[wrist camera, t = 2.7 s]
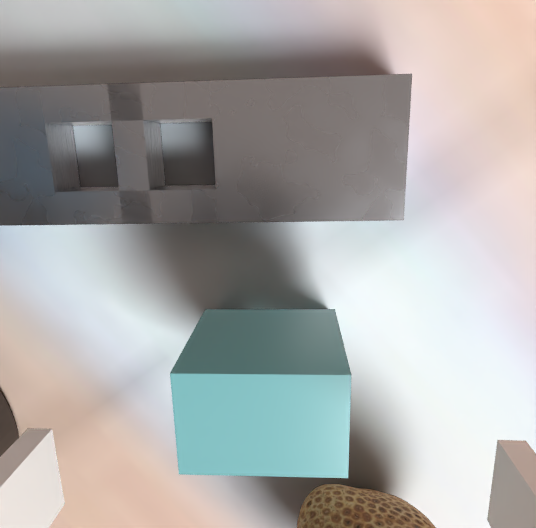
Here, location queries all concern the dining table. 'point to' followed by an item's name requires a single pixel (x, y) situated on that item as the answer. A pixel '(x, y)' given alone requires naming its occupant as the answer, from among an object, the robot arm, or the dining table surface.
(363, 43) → the dining table surface
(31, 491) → the robot arm
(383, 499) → the natural sponge
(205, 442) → the teal foam brick
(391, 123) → the rail
